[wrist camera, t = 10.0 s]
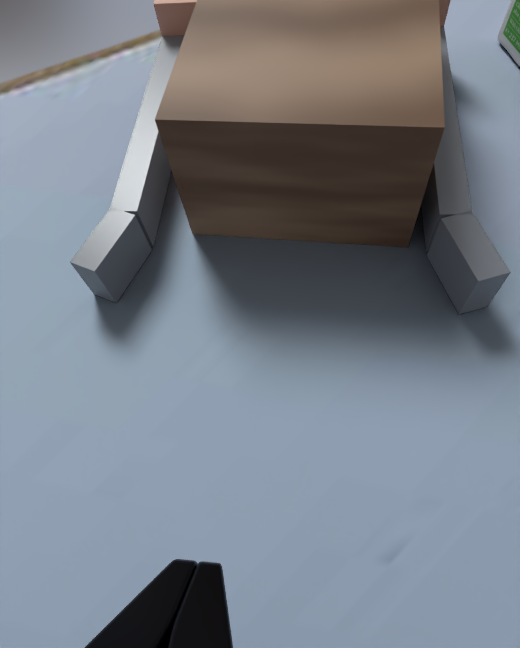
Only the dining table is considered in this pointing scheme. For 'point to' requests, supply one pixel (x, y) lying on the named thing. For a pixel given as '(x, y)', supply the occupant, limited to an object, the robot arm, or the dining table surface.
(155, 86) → the box pocket
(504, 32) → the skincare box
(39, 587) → the dining table surface
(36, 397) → the dining table surface
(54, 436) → the dining table surface
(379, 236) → the walnut box
